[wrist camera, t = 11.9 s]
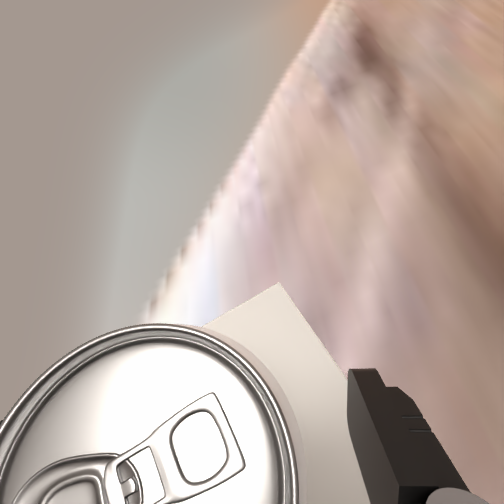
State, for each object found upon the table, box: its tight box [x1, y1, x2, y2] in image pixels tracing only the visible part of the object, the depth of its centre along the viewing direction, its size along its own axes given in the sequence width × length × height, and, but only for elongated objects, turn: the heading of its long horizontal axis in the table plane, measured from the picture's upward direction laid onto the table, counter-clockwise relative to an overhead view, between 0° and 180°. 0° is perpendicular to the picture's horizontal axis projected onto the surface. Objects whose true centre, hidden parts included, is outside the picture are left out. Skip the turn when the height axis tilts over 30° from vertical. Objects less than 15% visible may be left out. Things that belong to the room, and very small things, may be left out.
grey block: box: [202, 282, 370, 504], centre depth 19 cm, size 12×12×6 cm
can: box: [0, 323, 307, 504], centre depth 11 cm, size 6×6×12 cm
